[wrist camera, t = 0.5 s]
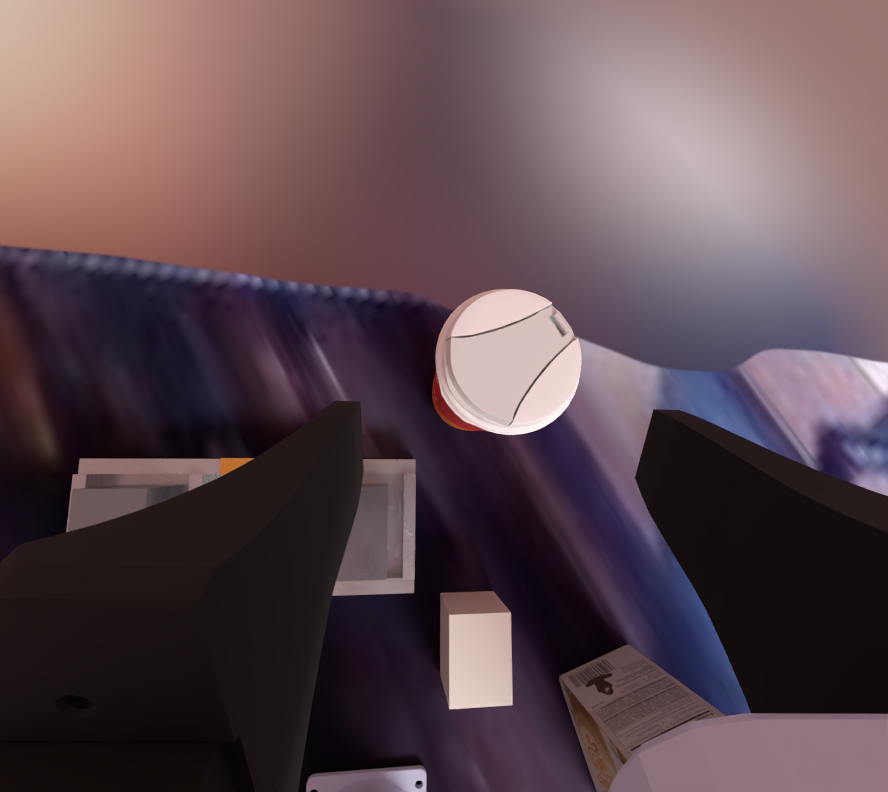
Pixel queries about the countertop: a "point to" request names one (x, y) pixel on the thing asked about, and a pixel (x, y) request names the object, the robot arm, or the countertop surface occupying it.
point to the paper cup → (505, 363)
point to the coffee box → (625, 708)
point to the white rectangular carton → (475, 650)
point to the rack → (156, 480)
